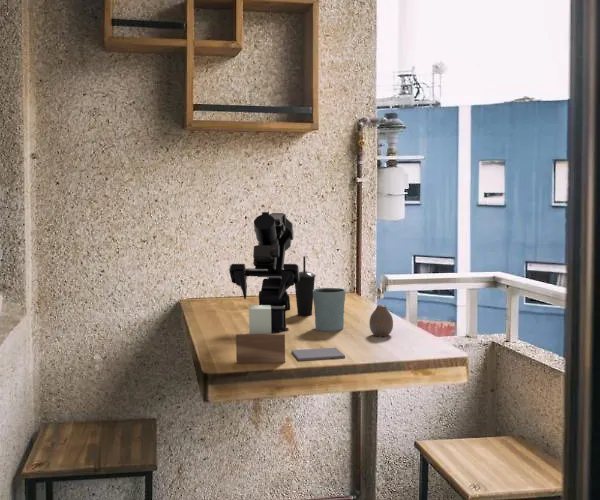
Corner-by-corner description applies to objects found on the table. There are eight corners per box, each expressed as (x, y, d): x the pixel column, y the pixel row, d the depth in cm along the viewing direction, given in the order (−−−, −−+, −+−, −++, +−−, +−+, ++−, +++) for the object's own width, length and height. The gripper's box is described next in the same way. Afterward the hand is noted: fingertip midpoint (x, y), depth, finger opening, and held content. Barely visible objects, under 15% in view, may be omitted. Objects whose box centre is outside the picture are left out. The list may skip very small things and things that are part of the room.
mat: (335, 349, 179) (335, 347, 179) (345, 357, 170) (345, 355, 170) (291, 352, 177) (291, 350, 177) (298, 360, 168) (298, 358, 168)
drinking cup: (290, 315, 228) (289, 257, 226) (298, 312, 235) (298, 255, 233) (311, 317, 225) (310, 257, 223) (319, 313, 232) (318, 255, 230)
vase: (378, 338, 192) (378, 308, 191) (364, 334, 198) (364, 304, 197) (397, 336, 195) (398, 306, 194) (384, 331, 201) (384, 302, 201)
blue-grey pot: (322, 333, 200) (321, 293, 199) (307, 327, 209) (306, 288, 208) (351, 329, 205) (351, 290, 203) (335, 323, 214) (335, 286, 213)
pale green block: (250, 355, 174) (249, 305, 173) (271, 354, 175) (270, 305, 174) (249, 360, 169) (248, 309, 168) (271, 360, 169) (271, 309, 168)
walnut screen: (236, 362, 167) (236, 334, 167) (284, 360, 168) (284, 333, 167) (236, 363, 166) (236, 335, 165) (285, 362, 166) (284, 334, 166)
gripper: (230, 234, 184) (222, 279, 174) (298, 234, 182) (294, 279, 172) (235, 260, 192) (228, 304, 182) (300, 260, 190) (297, 305, 180)
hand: (261, 298), depth 179 cm, fingers open, 9 cm apart
